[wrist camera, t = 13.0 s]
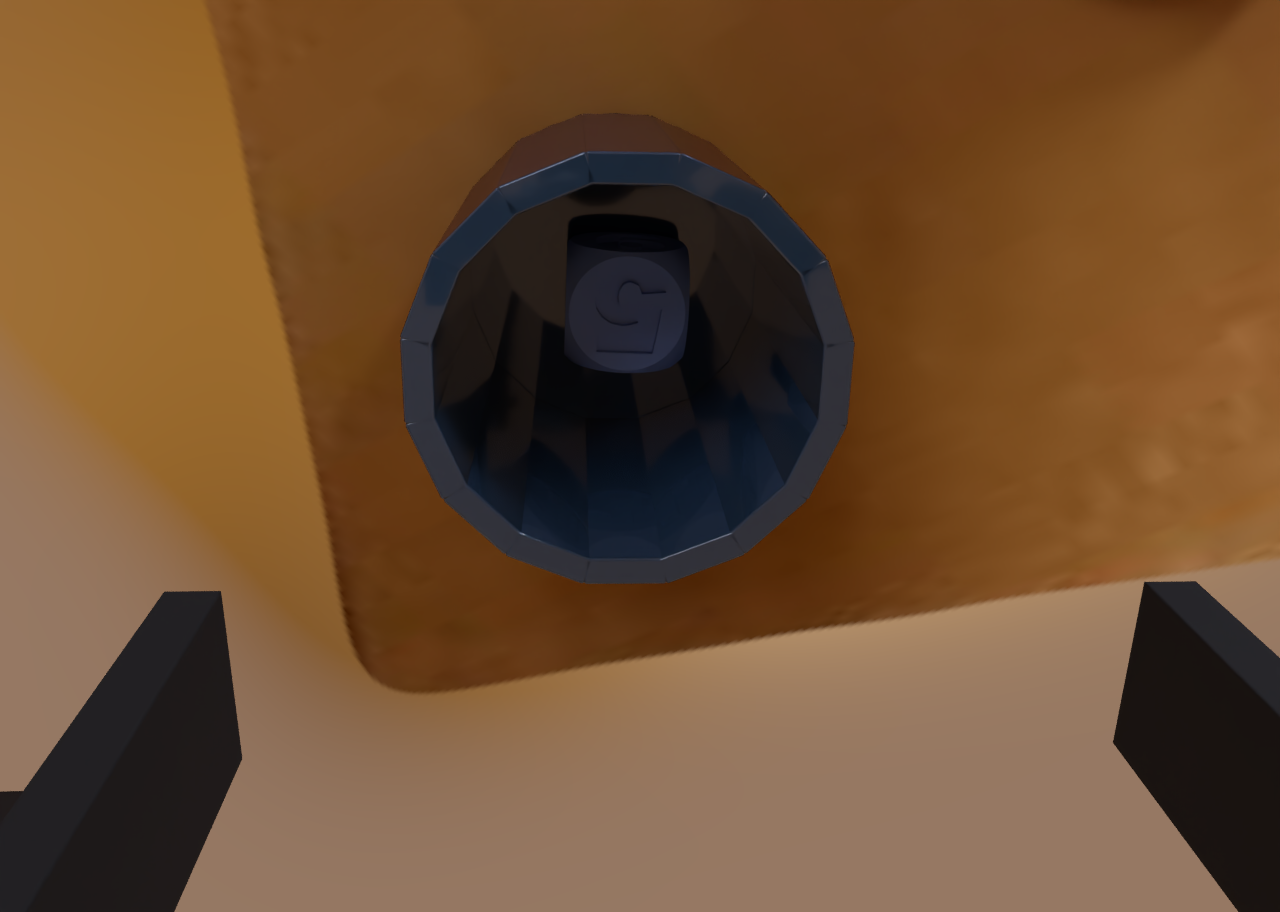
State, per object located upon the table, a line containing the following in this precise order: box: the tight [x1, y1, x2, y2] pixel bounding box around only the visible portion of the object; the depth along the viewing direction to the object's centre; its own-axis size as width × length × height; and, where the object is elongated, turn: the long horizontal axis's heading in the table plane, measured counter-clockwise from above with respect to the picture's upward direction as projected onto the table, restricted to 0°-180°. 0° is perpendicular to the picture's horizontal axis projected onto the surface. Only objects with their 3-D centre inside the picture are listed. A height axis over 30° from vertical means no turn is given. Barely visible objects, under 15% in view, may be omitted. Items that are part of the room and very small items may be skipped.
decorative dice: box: [564, 232, 690, 373], centre depth 39 cm, size 4×4×4 cm
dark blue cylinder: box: [400, 113, 855, 584], centre depth 35 cm, size 12×12×12 cm
